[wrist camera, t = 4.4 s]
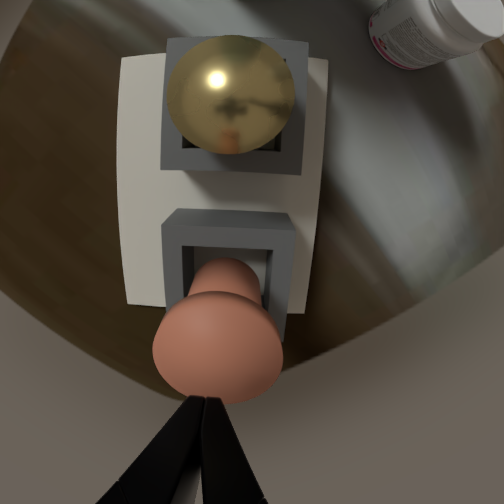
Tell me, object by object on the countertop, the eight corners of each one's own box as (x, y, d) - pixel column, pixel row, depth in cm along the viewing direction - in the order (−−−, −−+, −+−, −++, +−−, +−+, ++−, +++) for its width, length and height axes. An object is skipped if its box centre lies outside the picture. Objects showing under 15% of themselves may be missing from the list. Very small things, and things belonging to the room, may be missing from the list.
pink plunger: (275, 247, 15) (290, 308, 10) (268, 328, 16) (276, 405, 11) (179, 243, 15) (145, 300, 9) (183, 323, 16) (160, 398, 11)
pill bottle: (436, 72, 15) (523, 55, 7) (376, 70, 15) (455, 37, 7) (419, 11, 13) (493, -29, 6) (358, 5, 14) (418, -55, 6)
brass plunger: (281, 70, 14) (297, 39, 9) (276, 151, 16) (290, 158, 11) (195, 67, 14) (171, 36, 9) (191, 148, 16) (164, 153, 11)
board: (325, 62, 15) (346, 43, 11) (302, 308, 21) (313, 346, 17) (125, 59, 15) (95, 43, 11) (130, 299, 20) (108, 333, 17)
